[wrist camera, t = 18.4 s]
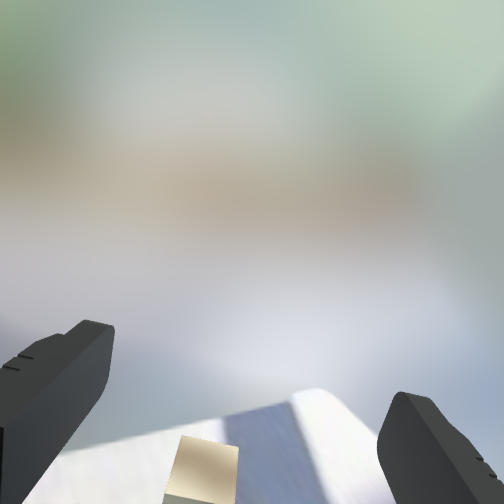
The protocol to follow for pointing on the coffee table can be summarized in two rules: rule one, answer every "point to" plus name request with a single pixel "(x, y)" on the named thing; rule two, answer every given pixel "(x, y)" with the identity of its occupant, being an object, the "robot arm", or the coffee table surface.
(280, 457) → the coffee table surface
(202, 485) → the maple peg
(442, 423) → the robot arm
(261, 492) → the coffee table surface
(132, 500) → the coffee table surface
